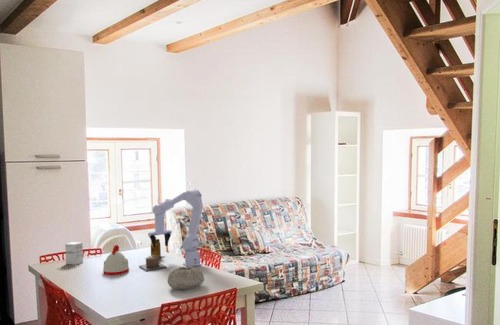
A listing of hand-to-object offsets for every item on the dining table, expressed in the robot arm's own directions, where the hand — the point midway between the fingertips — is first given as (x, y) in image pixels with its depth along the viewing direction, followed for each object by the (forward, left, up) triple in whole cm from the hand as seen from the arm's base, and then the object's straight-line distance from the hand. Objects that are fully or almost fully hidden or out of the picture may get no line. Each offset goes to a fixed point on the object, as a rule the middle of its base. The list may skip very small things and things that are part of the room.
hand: (160, 246), depth 273 cm
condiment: (+12, -2, -10) cm, 16 cm away
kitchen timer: (-6, +29, -10) cm, 31 cm away
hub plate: (-10, +9, -9) cm, 16 cm away
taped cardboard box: (-10, +9, -8) cm, 16 cm away
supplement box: (+31, +44, -10) cm, 55 cm away
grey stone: (-59, +10, -10) cm, 61 cm away
